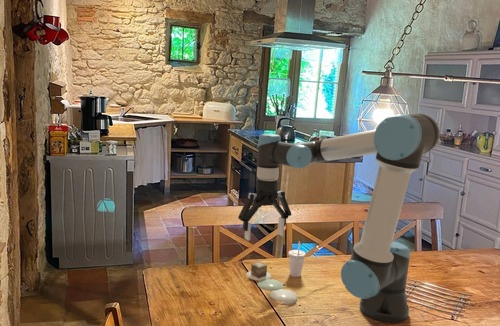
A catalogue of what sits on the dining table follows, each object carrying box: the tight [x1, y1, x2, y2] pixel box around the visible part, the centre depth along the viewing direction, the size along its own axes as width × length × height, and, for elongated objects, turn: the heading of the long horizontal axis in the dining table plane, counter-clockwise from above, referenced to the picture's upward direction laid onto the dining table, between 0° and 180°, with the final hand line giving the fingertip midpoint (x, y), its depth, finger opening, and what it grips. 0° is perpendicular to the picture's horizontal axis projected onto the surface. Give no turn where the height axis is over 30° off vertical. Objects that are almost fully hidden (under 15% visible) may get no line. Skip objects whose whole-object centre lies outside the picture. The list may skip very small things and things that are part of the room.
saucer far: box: [245, 270, 272, 282], centre depth 168 cm, size 9×9×1 cm
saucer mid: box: [257, 278, 284, 292], centre depth 161 cm, size 9×9×1 cm
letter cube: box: [250, 261, 268, 278], centre depth 168 cm, size 4×4×4 cm
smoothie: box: [287, 241, 307, 278], centre depth 169 cm, size 6×6×14 cm
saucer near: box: [269, 288, 298, 306], centre depth 153 cm, size 9×9×1 cm
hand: (264, 237), depth 163 cm, fingers open, 13 cm apart
